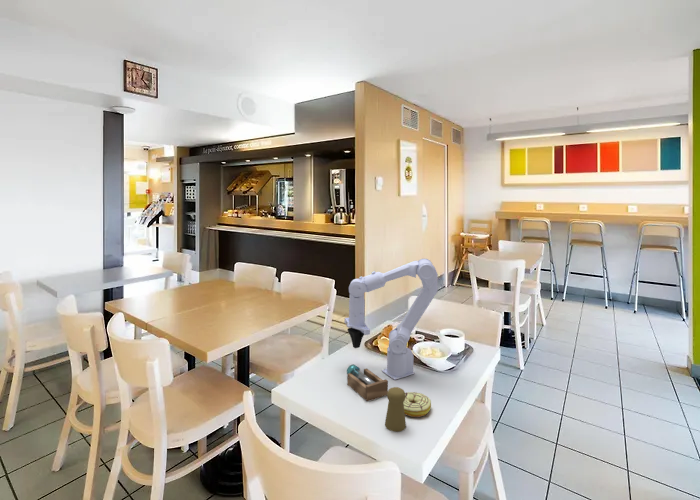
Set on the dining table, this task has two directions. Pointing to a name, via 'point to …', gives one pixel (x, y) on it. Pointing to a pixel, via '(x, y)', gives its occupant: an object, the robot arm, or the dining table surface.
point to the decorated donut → (416, 404)
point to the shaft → (359, 374)
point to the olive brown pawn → (395, 410)
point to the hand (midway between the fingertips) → (356, 347)
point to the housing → (368, 386)
